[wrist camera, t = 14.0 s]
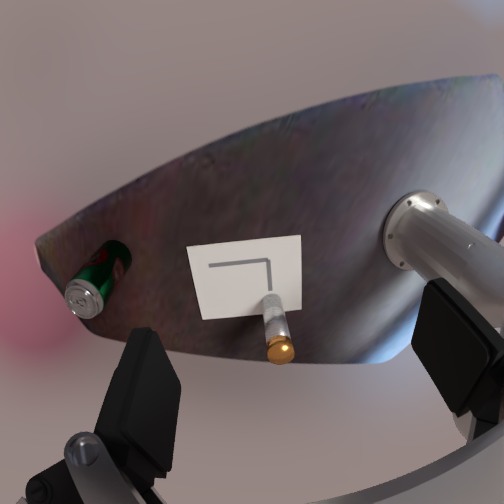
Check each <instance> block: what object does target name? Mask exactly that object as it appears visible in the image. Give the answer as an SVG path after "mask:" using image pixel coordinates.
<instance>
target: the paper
mask: <svg viewBox="0 0 504 504" xmlns="http://www.w3.org/2000/svg"><path fill="white" fill-rule="evenodd" d="M187 252H188V257H189V262H190V266H191V271H192V276H193V280H194V285H195V289H196V294H197V298H198V302H199V307H200V311H201V315H202V319H216V318H227V317H238V316H248V315H258V314H263V313H262V306H261V300H262V298H263V297H264V296H265V295H267V294H277V295H279V296H280V298H281V300H282V304H283V308H284V311H292V310H300V309H301V304H302V285H301V235H294V236H284V237H274V238H264V239H255V240H245V241H236V242H226V243H217V244H208V245H199V246H190V247H187Z"/></svg>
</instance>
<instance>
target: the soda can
mask: <svg viewBox="0 0 504 504" xmlns="http://www.w3.org/2000/svg"><path fill="white" fill-rule="evenodd" d="M131 262H132V257H131V253H130V251H129V249H128V248H127V247H126V246H125V245H124V244H123V243H121V242H119V241H116V240H109V241H107V242H105V243H104V244H103V245H102V246H101V247H100V248H99V249H98V250H97V251H96V252H95V253H94V254H93V255H92V256H91V258H90V259H89V260H88V261H87V262H86V263H85V264H84V265H83V266H82V267H81V269H80V270H79V271H78V272H77V273H76V274H75V275H74V276H73V278H72V279H71V280H70V281H69V282H68V284H67V287H66V292H65V301H66V303H67V306H68V307H69V309H70V310H71V311H72V312H73V313H74V314H76V315H77V316H79V317H81V318H85V319H90V318H93V317H94V316H96V315H98V314H100V313H101V312H102V310H103V309H104V307H105V305H106V304H107V302H108V301H109V299H110V297H111V296H112V294H113V292H114V291H115V289H116V288H117V286H118V284H119V283H120V281H121V280H122V278H123V277H124V275H125V273H126V272H127V270H128V269H129V267H130V265H131Z"/></svg>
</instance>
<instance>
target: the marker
mask: <svg viewBox="0 0 504 504" xmlns="http://www.w3.org/2000/svg"><path fill="white" fill-rule="evenodd" d="M261 306H262V313H263V321H264V328H265V335H266V343H267V345H266V346H267V353H268V359H269V361H270V362H271V363H273V364H277V365H282V364H286V363H288V362H290V361H291V360H292V359H293V358H294V355H295V353H294V348H293V344H292V340H291V338H290V333H289V329H288V325H287V321H286V317H285V312H284V308H283V304H282V300H281V298H280V296H279V295H277V294H267V295H265V296H264V297H263V298H262V300H261Z"/></svg>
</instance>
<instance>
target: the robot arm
mask: <svg viewBox="0 0 504 504" xmlns="http://www.w3.org/2000/svg"><path fill="white" fill-rule="evenodd" d="M383 245H384V250H385V252H386V255H387V257H388V258H389V259H390V261H391V262H392V263H393V264H394V265H395V266H397V267H398V268H400V269H403V270H415V271H416V272H417V273H418V274H419V275H420V276H421V277H422V278H423V279H424V280H425V281H426V282H427V285H426V286H425V287H424V291H423V295H422V300H421V304H420V309H419V313H418V317H417V321H416V325H415V329H414V332H413V336H412V340H411V345H412V348H413V350H414V351H415V353H416V355H417V356H418V358H419V359H420V361H421V362H422V364H423V366H424V367H425V369H426V370H427V372H428V374H429V375H430V377H431V379H432V380H433V382H434V384H435V385H436V387H437V389H438V390H439V392H440V394H441V395H442V397H443V399H444V401H445V402H446V404H447V406H448V408H449V409H450V411H451V412H453V419H454V422H455V424H456V427H457V428H458V430H459V431H460V433H461V434H462V435H463V436H464V437H465V439H466V440H467V443H466V445H465V446H463V447H461V448H459V449H458V450H456V451H454V452H452V453H450V454H448V455H447V456H445V457H443V458H441V459H439V460H437V461H435V462H433V463H431V464H428V465H426V466H424V467H422V468H420V469H418V470H415V471H413V472H411V473H408V474H406V475H403V476H401V477H398V478H396V479H393V480H391V481H388V482H385V483H383V484H379V485H377V486H373V487H370V488H367V489H364V490H361V491H357V492H354V493H350V494H347V495H343V496H339V497H335V498H331V499H327V500H322V501H318V502H312V503H307V504H504V247H503V246H501V245H500V244H498V243H497V242H495V241H494V240H492V239H491V238H489V237H488V236H486V235H484V234H483V233H481V232H480V231H478V230H476V229H475V228H473V227H472V226H470V225H468V224H467V223H465V222H463V221H462V220H460V219H458V218H456V217H455V216H453V215H451V214H449V212H448V209H447V207H446V205H445V203H444V202H443V200H442V199H441V198H440V197H439V196H437V195H436V194H434V193H431V192H429V191H415V192H412V193H410V194H408V195H406V196H404V197H403V198H402V199H401V200H399V201H398V203H397V204H396V205H395V206H394V207H393V209H392V210H391V212H390V214H389V216H388V218H387V220H386V223H385V227H384V232H383ZM498 327H500V328H501V331H500V334H499V333H498V332H497V331H496V330H495V329H494V328H498ZM180 395H181V384H180V381H179V379H178V377H177V375H176V373H175V371H174V369H173V366H172V364H171V362H170V360H169V358H168V356H167V354H166V352H165V349H164V347H163V345H162V343H161V340H160V338H159V336H158V334H157V332H156V331H152V330H151V328H149V327H145V328H134V329H132V331H131V334H130V336H129V338H128V341H127V343H126V346H125V349H124V351H123V354H122V356H121V359H120V362H119V364H118V367H117V368H116V370H115V371H114V374H113V377H112V379H111V382H110V385H109V387H108V390H107V393H106V396H105V399H104V402H103V405H102V408H101V411H100V414H99V417H98V420H97V423H96V426H95V429H94V433H91V432H80V433H77V434H75V435H74V436H72V437H71V438H70V439H69V440H68V442H67V443H66V446H65V448H64V457H65V459H63V460H61V461H60V462H58V463H56V464H54V465H53V466H51V467H49V468H48V469H46V470H44V471H42V472H41V473H39V474H37V475H35V476H33V477H32V478H31V479H30V480H29V482H28V483H27V485H26V498H24V497H21V498H20V499H19V501H18V502H17V503H16V504H167V503H166V502H165V501H164V500H163V498H162V497H161V496H160V495H159V493H158V492H157V491H156V489H155V488H154V487H153V485H154V479H155V478H166V474H167V472H169V471H171V468H172V460H173V450H174V442H175V434H176V425H177V417H178V410H179V402H180Z"/></svg>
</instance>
